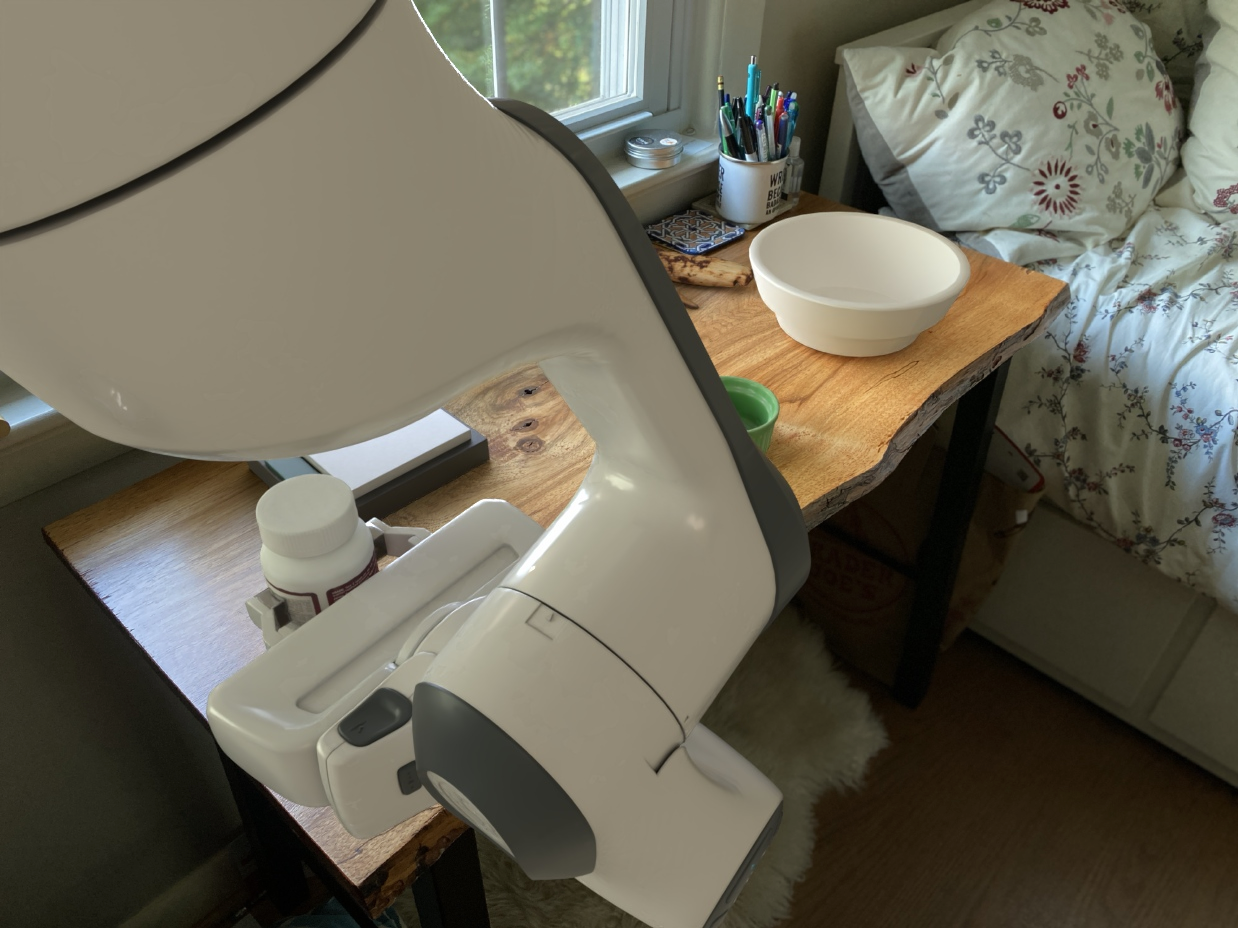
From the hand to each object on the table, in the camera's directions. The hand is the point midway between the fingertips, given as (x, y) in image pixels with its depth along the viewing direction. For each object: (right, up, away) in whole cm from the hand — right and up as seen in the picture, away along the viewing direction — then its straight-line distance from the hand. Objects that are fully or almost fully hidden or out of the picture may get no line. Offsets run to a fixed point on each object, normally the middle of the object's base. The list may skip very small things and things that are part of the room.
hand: (313, 566), depth 54 cm
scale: (-4, +6, +29) cm, 30 cm away
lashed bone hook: (+24, +27, +55) cm, 66 cm away
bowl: (+43, +21, +48) cm, 67 cm away
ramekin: (+28, +8, +31) cm, 42 cm away
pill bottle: (+1, -5, +3) cm, 6 cm away
